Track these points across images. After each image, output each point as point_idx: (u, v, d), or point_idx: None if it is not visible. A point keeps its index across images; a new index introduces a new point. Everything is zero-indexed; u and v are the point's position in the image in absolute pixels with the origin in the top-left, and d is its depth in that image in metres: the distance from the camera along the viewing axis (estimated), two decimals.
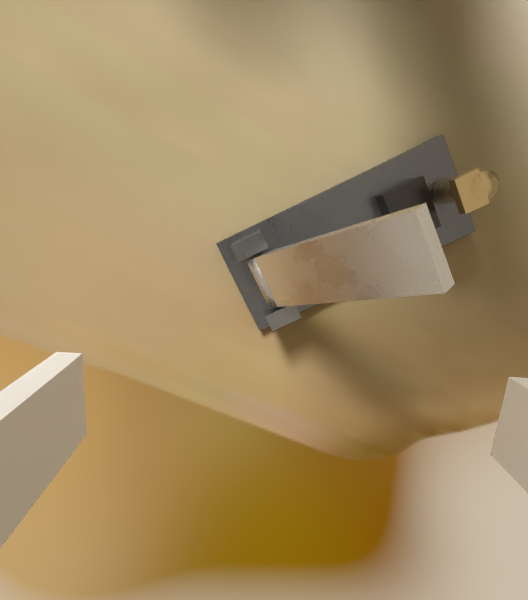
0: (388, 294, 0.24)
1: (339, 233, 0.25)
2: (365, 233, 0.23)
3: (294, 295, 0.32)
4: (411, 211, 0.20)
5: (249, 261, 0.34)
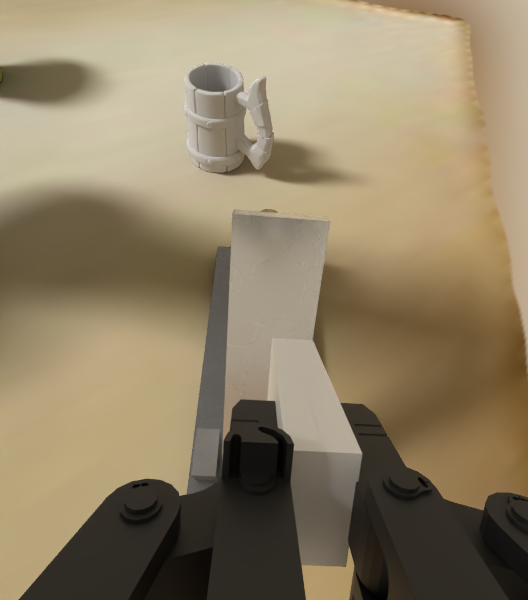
0: (315, 288, 0.21)
1: (229, 313, 0.21)
2: (238, 281, 0.20)
3: None
4: (232, 218, 0.19)
5: None
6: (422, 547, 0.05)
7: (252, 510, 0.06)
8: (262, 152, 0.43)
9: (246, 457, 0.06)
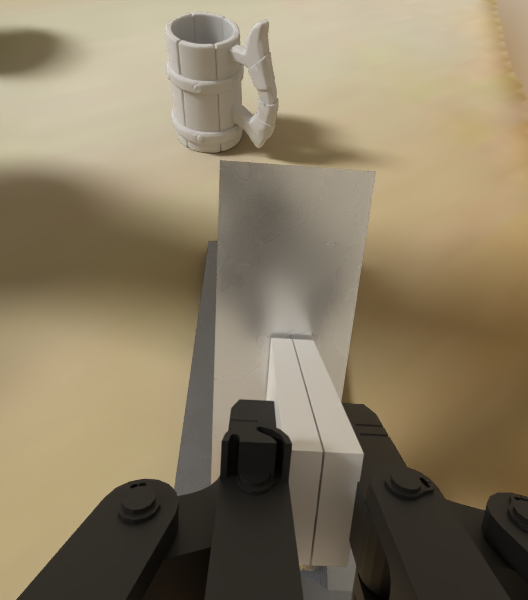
0: (352, 283, 0.13)
1: (217, 325, 0.14)
2: (230, 272, 0.13)
3: None
4: (220, 168, 0.12)
5: None
6: (424, 547, 0.05)
7: (250, 510, 0.06)
8: (264, 124, 0.35)
9: (244, 457, 0.06)
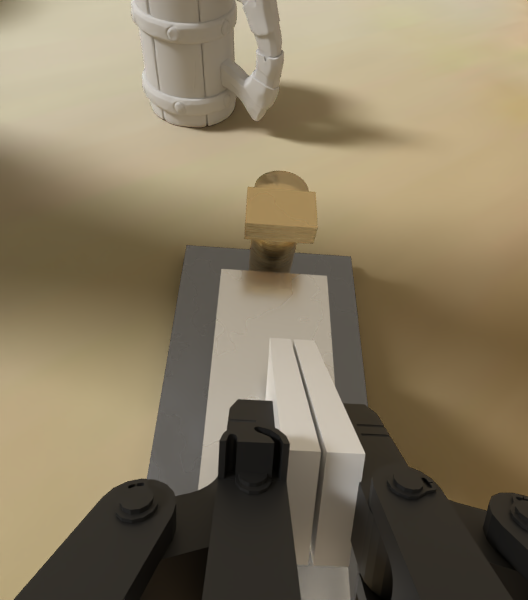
0: (327, 349, 0.16)
1: (210, 386, 0.15)
2: (225, 340, 0.16)
3: None
4: (221, 273, 0.17)
5: None
6: (426, 547, 0.05)
7: (248, 510, 0.06)
8: (264, 87, 0.26)
9: (242, 457, 0.06)
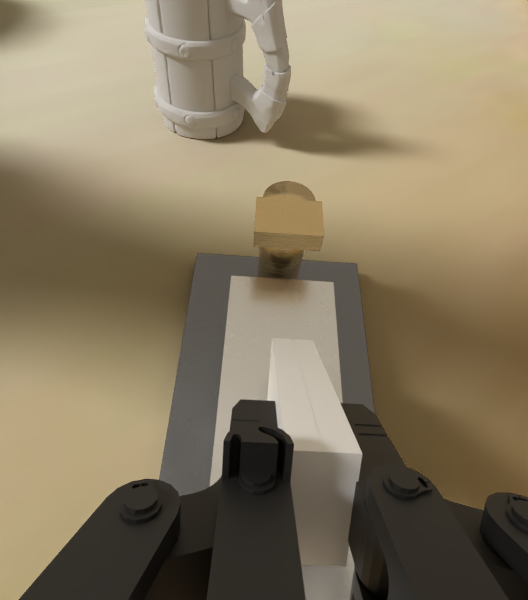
0: (333, 352, 0.16)
1: (220, 389, 0.15)
2: (235, 344, 0.16)
3: None
4: (231, 280, 0.18)
5: None
6: (422, 547, 0.05)
7: (252, 510, 0.06)
8: (272, 100, 0.27)
9: (246, 457, 0.06)
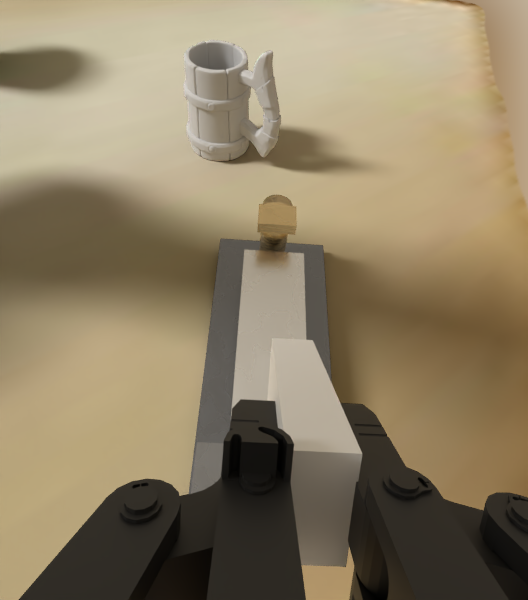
0: (302, 290, 0.29)
1: (240, 307, 0.28)
2: (247, 285, 0.29)
3: None
4: (244, 252, 0.31)
5: None
6: (422, 547, 0.05)
7: (252, 510, 0.06)
8: (268, 137, 0.40)
9: (246, 457, 0.06)
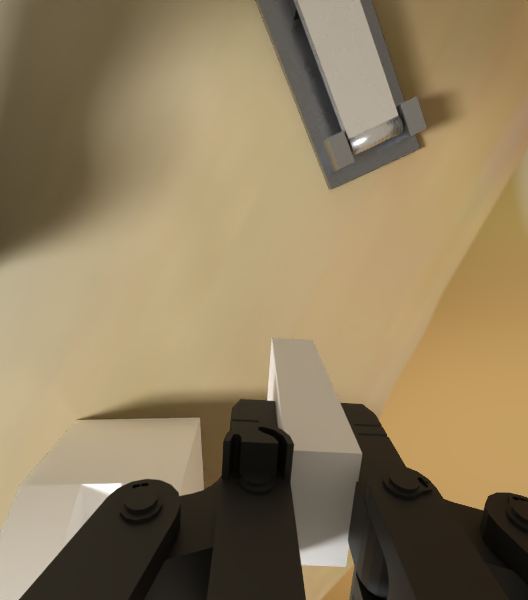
0: None
1: (305, 19, 0.33)
2: None
3: (377, 84, 0.34)
4: None
5: (352, 142, 0.35)
6: (422, 547, 0.05)
7: (252, 510, 0.06)
8: None
9: (246, 457, 0.06)
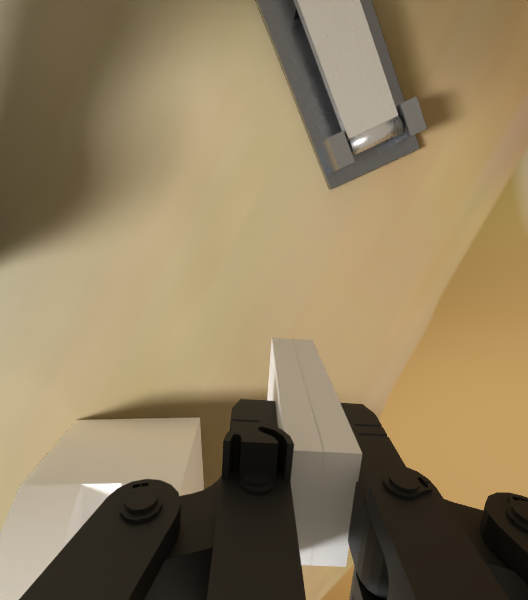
0: None
1: (305, 19, 0.33)
2: None
3: (377, 84, 0.34)
4: None
5: (352, 142, 0.35)
6: (422, 547, 0.05)
7: (252, 510, 0.06)
8: None
9: (246, 457, 0.06)
